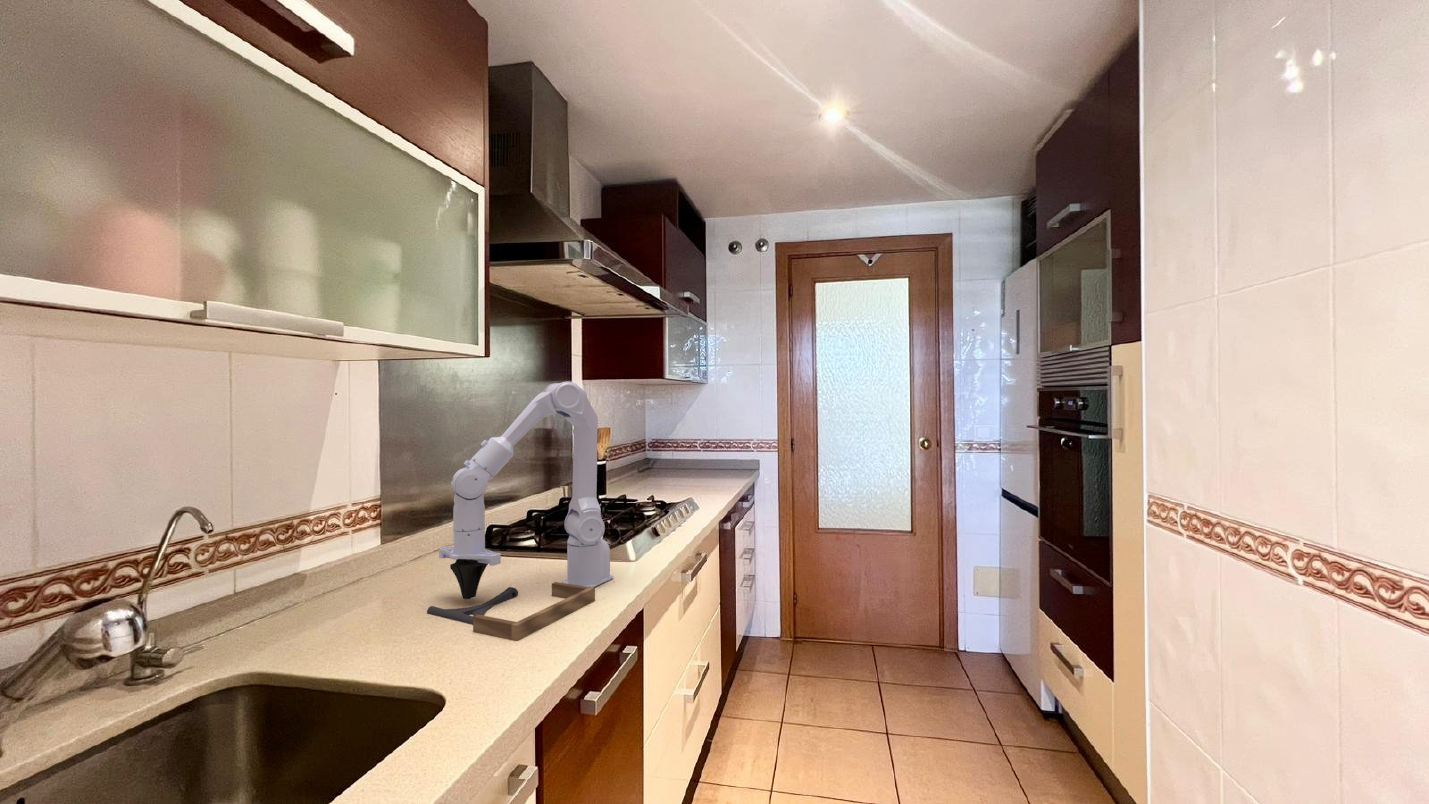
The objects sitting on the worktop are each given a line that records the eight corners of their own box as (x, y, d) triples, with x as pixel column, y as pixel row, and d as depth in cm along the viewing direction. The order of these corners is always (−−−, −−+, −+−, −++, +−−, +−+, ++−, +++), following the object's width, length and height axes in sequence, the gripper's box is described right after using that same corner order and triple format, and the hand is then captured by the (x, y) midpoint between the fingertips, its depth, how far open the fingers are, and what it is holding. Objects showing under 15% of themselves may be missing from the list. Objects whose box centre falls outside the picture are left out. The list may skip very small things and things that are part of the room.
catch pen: (555, 594, 118) (555, 581, 118) (595, 600, 114) (595, 587, 114) (473, 631, 98) (473, 616, 98) (517, 640, 94) (517, 625, 94)
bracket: (542, 605, 114) (542, 590, 114) (480, 630, 100) (480, 614, 100) (490, 594, 120) (490, 581, 120) (426, 617, 107) (426, 602, 107)
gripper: (425, 529, 113) (425, 599, 112) (480, 536, 107) (480, 609, 106) (455, 522, 119) (455, 588, 119) (508, 528, 113) (508, 597, 113)
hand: (469, 597), depth 113 cm, fingers closed
